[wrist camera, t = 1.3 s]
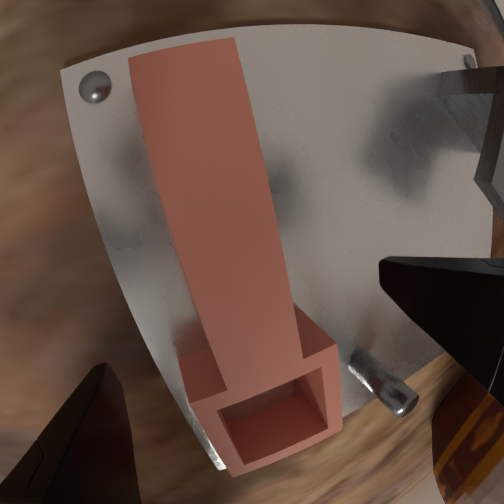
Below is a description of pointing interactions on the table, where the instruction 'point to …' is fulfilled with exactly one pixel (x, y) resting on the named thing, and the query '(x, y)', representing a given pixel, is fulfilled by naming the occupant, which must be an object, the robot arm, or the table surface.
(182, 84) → the link
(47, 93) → the table surface
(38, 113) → the table surface
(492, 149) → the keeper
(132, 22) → the table surface
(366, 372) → the cylinder
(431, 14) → the table surface
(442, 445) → the jug
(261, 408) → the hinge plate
